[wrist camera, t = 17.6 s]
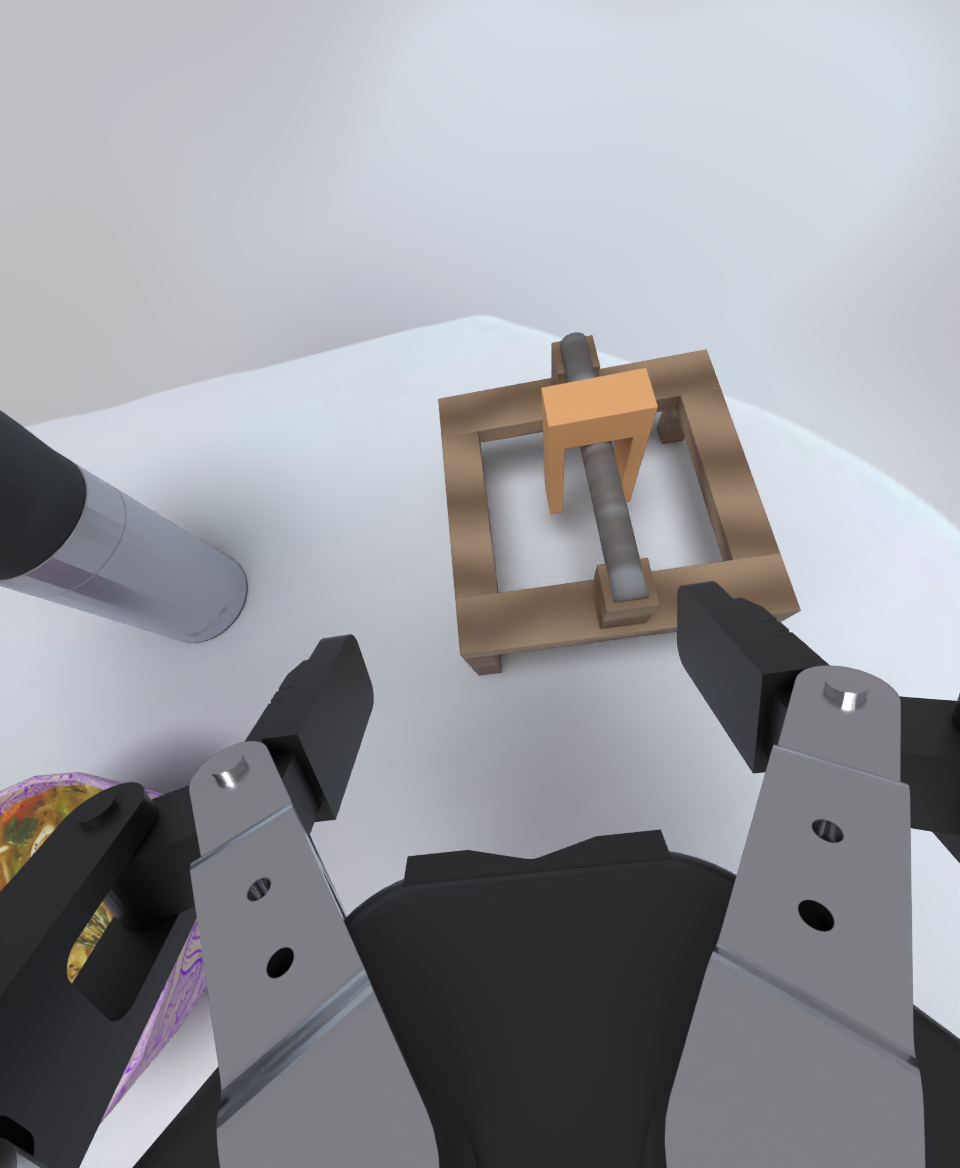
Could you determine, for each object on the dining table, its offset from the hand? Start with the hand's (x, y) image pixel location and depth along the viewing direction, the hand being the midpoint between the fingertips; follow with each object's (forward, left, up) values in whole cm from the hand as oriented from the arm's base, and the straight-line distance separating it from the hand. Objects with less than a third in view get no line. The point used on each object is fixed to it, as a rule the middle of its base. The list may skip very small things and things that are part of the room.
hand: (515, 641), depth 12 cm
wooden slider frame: (-9, +14, -28) cm, 33 cm away
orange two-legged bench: (-10, +15, -23) cm, 29 cm away
